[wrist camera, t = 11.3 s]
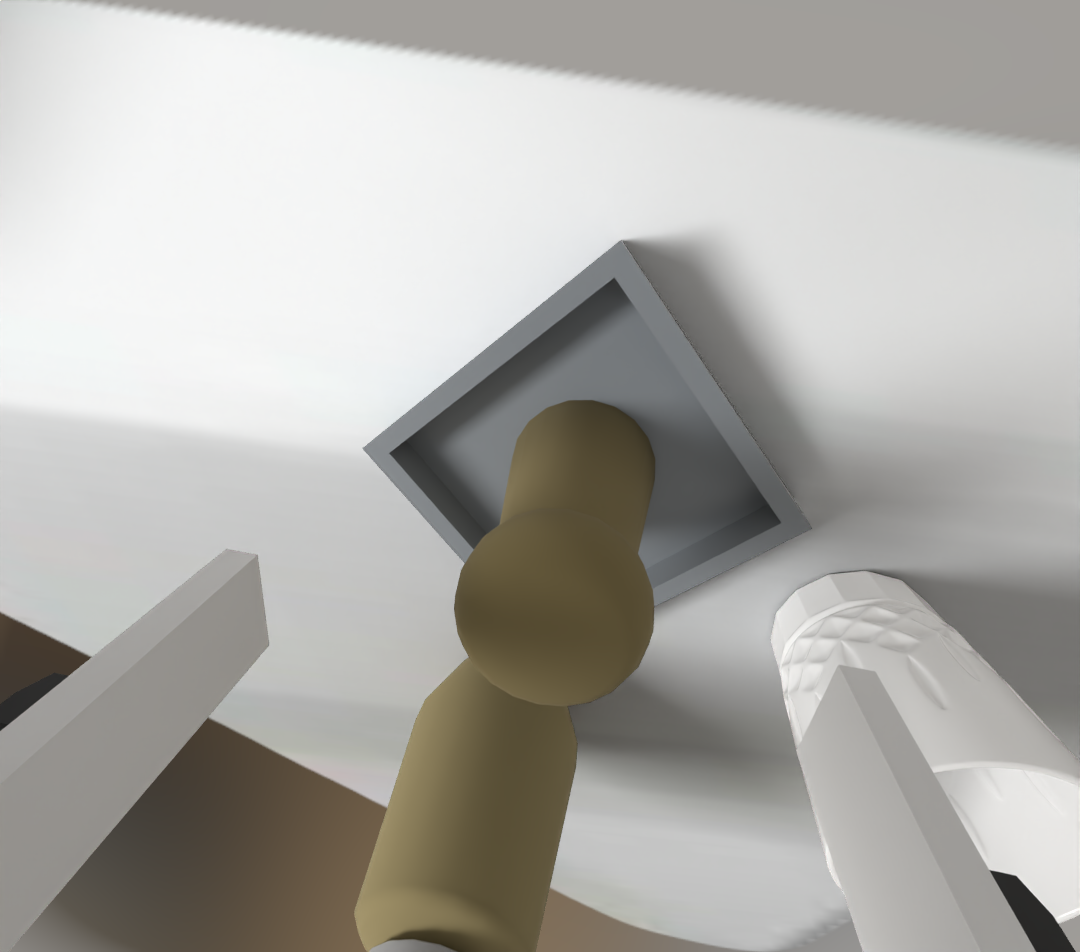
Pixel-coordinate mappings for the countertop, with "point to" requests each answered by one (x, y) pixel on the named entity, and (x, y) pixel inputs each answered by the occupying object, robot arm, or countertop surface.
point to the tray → (611, 378)
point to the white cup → (943, 723)
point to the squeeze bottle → (470, 824)
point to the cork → (564, 561)
